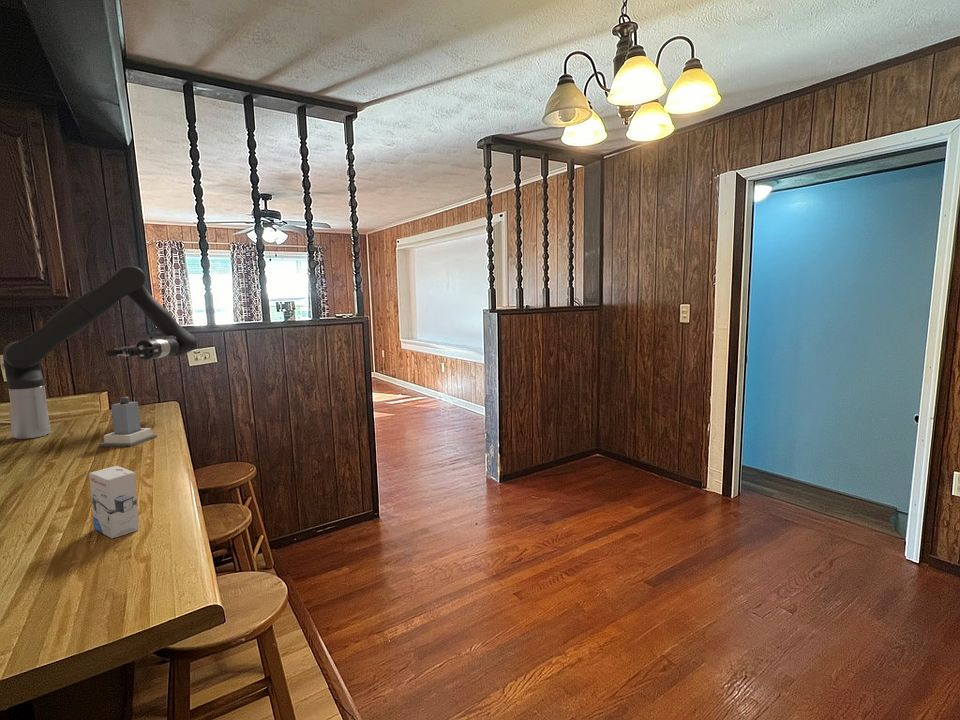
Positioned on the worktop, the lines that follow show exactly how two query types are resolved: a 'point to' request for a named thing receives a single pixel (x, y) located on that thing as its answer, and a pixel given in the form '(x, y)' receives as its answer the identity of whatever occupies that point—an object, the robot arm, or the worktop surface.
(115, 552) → the worktop surface
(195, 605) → the worktop surface
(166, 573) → the worktop surface
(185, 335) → the robot arm
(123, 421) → the grey-blue square bottle
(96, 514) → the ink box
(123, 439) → the socket block
